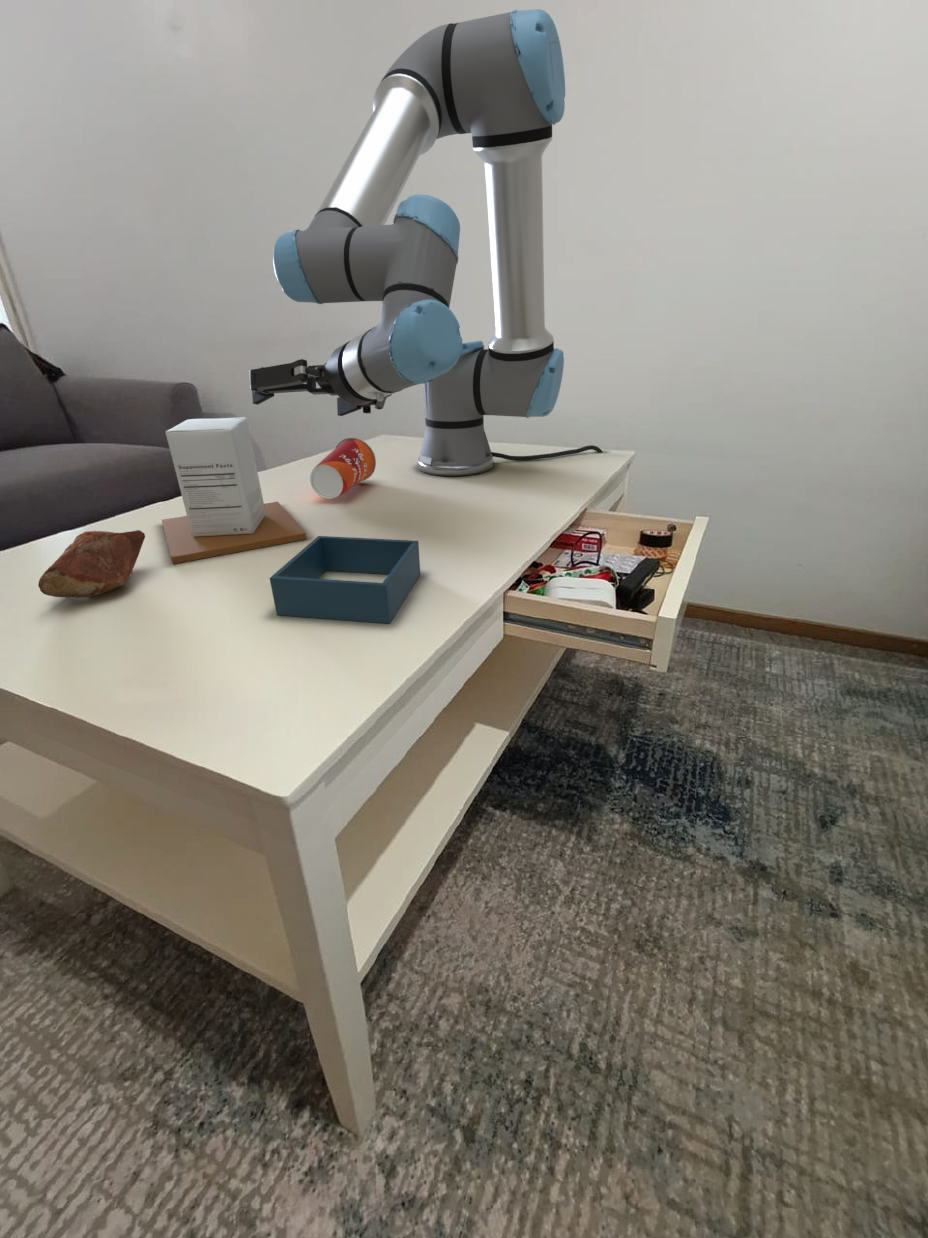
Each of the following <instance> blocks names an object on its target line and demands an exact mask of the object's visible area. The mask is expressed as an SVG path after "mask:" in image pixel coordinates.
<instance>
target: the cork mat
mask: <svg viewBox="0 0 928 1238" xmlns="http://www.w3.org/2000/svg"><path fill="white" fill-rule="evenodd" d="M264 507H265V512H266V515H265V516H264V518H263V520H262V521H261V523H260V524H259V526H258V527H257V529H256V530H255V532H254V533H253V534H238V535H219V536H199V537H193V536H192V532H191V529H190V525H189V521H188V517H187V515H183V516H178V517H169V518H165V519H164V518H163V519H161V523H162V527H163V532H164V535H165V539H166V544H167V547H168V553H169V555H170V559H171V563H172V565H176V564H181V563H186V562H187V563H188V562H192V561H197V560H203V559H208V558H209V559H210V558H213V557H218V556H225V555H230V554H234V553H235V554H236V553H240V552H245V551H251V550H257V549H262V548H267V547H272V546H277V545H283V544H289V543H294V542H299V541H305V540H307V534H306V532H305V531H304V530H303V529H302V527H301V526H300V525H299V524H298V523H297V521H295V519H294V518H293V517H292V516H291V515H290V513H288V511H287V510H286V509H285V508H284V507H283V506H282V505H281V504H280V502H279V501H273V502H264Z"/></svg>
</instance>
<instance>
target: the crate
mask: <svg viewBox="0 0 928 1238" xmlns="http://www.w3.org/2000/svg"><path fill="white" fill-rule="evenodd" d="M326 571H328V572H329V571H330V572H342V573H343V572H345V573H363V574H375V575H376V574H378V575H387V576H386V578H385V579H384V580H383V581H382V582H376V581H375V582H373V581H357V580H343V579H327V578H326V579H325V578H320V577H321V576H322V575H323V574H324V573H325V572H326ZM420 575H421V559H420V545H419V540H410V539H409V540H408V539H391V538H390V539H388V538H371V537H370V538H369V537H351V536H350V537H348V536H329V535H328V536H327V535H318V536H316V537H315V538H314V539H313V540H312V541H311V542H310V543H308V544H307V545H306V546H304V547H303V548H302V549H301V550H300V551H299V552H298V553H297V554H296V555H294V556H293V557H292V558H291V559H290V560H288V561H287V562H286V563H285V564H284V565H282V567H280V568H279V570H277V571H276V572H275V573H274V574H272V575H271V576H270V577H269V582H270V587H271V593H272V598H273V603H274V607H275V612H276V616H285V617H299V618H312V619H322V620H323V619H325V620H337V621H338V620H339V621H352V622H365V623H376V624H377V623H378V624H390V623H391V622H392V620H393V619H394V617H395V616H396V614H397V612H398V611H399V609H400V608H401V606H402V605H403V603H404V601H405V600H406V598H407V596H409V593H410V592H411V590H412V588H413V587H414V585H415V584H416V582H417V580H418V579H419V577H420Z"/></svg>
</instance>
